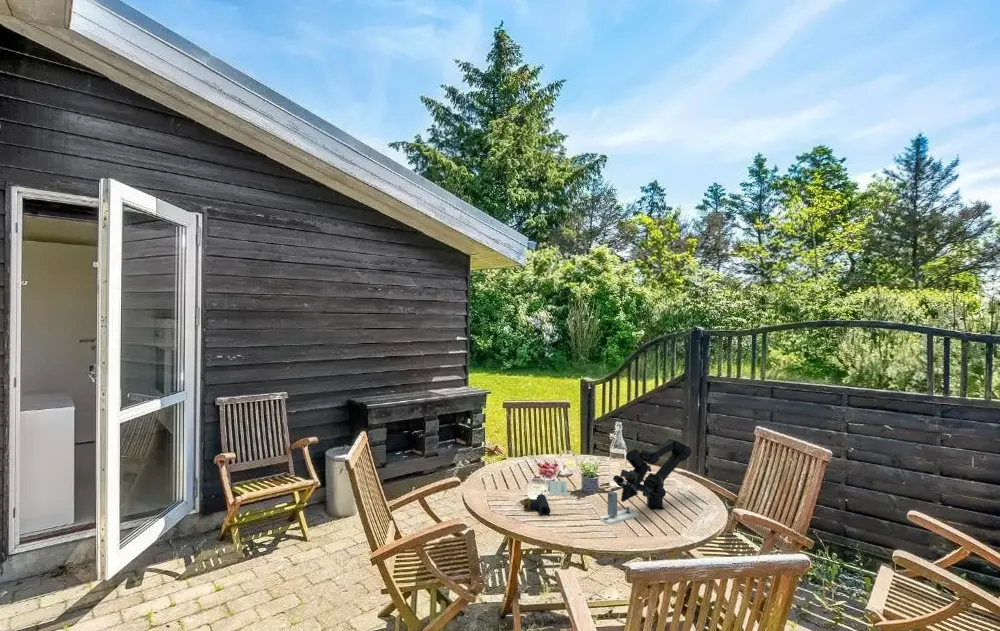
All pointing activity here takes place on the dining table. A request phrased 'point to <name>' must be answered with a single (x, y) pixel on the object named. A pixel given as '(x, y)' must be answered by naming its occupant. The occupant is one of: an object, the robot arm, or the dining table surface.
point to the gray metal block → (612, 504)
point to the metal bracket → (557, 487)
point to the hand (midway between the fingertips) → (622, 501)
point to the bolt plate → (618, 516)
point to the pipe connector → (537, 505)
